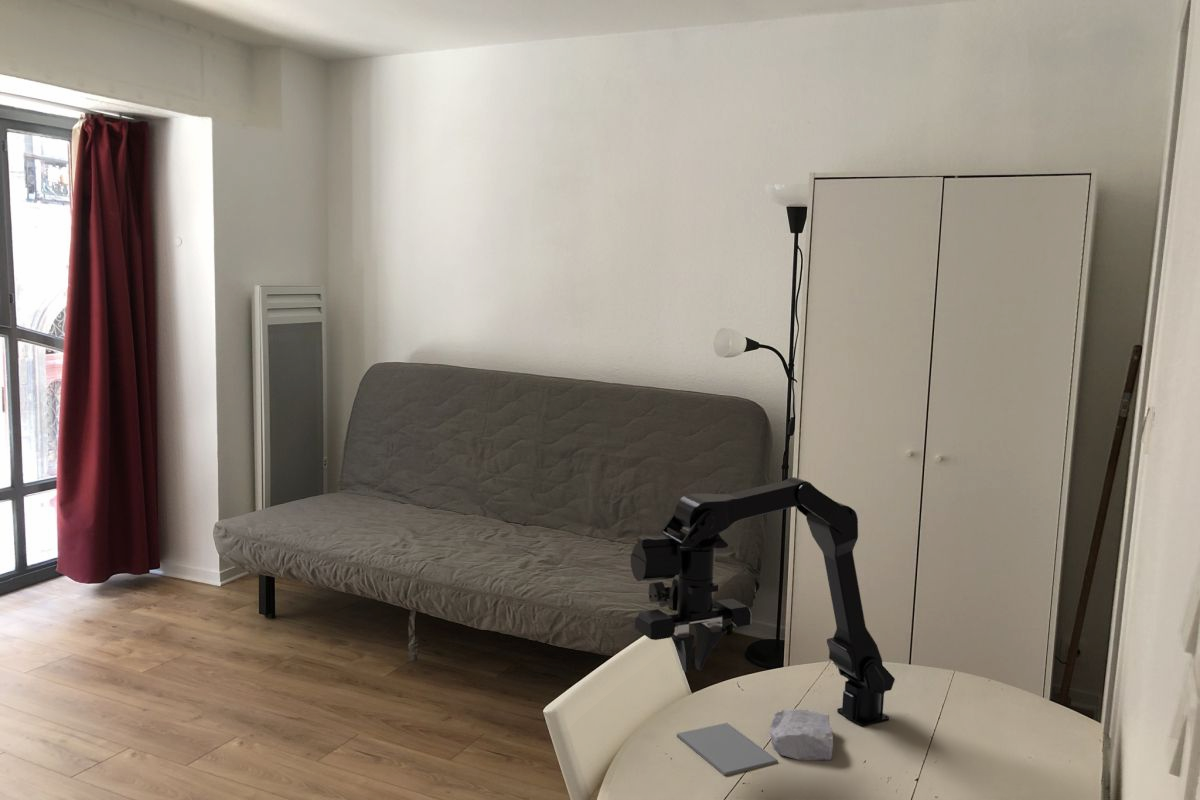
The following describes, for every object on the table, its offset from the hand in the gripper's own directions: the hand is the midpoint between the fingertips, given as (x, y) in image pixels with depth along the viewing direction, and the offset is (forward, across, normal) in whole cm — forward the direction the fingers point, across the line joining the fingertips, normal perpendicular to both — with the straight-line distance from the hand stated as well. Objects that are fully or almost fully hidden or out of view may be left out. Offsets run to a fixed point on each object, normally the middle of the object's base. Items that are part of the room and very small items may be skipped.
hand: (691, 670), depth 152 cm
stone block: (+12, -14, +3) cm, 19 cm away
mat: (+13, -5, +3) cm, 14 cm away
